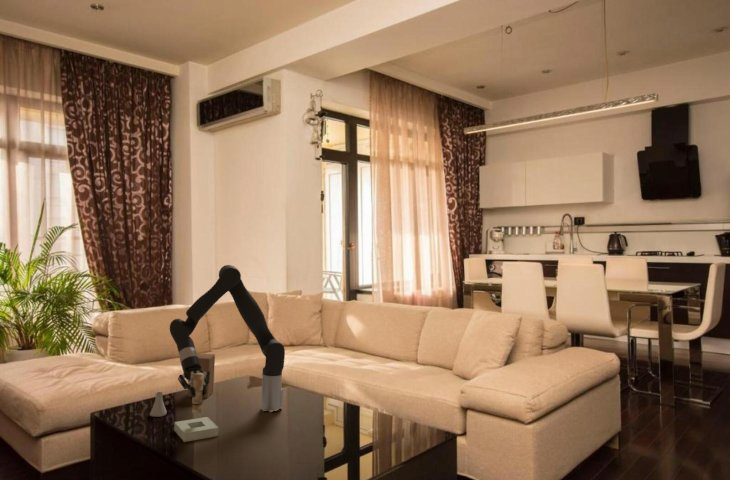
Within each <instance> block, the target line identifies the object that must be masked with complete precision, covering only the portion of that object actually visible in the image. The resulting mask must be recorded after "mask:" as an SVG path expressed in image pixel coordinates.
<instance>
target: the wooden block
mask: <svg viewBox="0 0 730 480" xmlns="http://www.w3.org/2000/svg"><path fill="white" fill-rule="evenodd" d="M197 354H198V357H199V361H200V364H201V369H202V370H203V372H207V371H209V372H210V379H209V384H208V385H207V386H206V389H207V393H206V395H205V396H203V395H202V399H208V398H209V397H210V396H211V395H212V394H213V393H214V387H215V386H214V385H215V382H214V381H215V361H216V354H215V353H201V352H200V353H198V352H197ZM203 379H204V382H205V377H203ZM187 390H188V394H187V396H188V397H189V398H192V396H191V395H190V391H189V389H187Z"/></svg>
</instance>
